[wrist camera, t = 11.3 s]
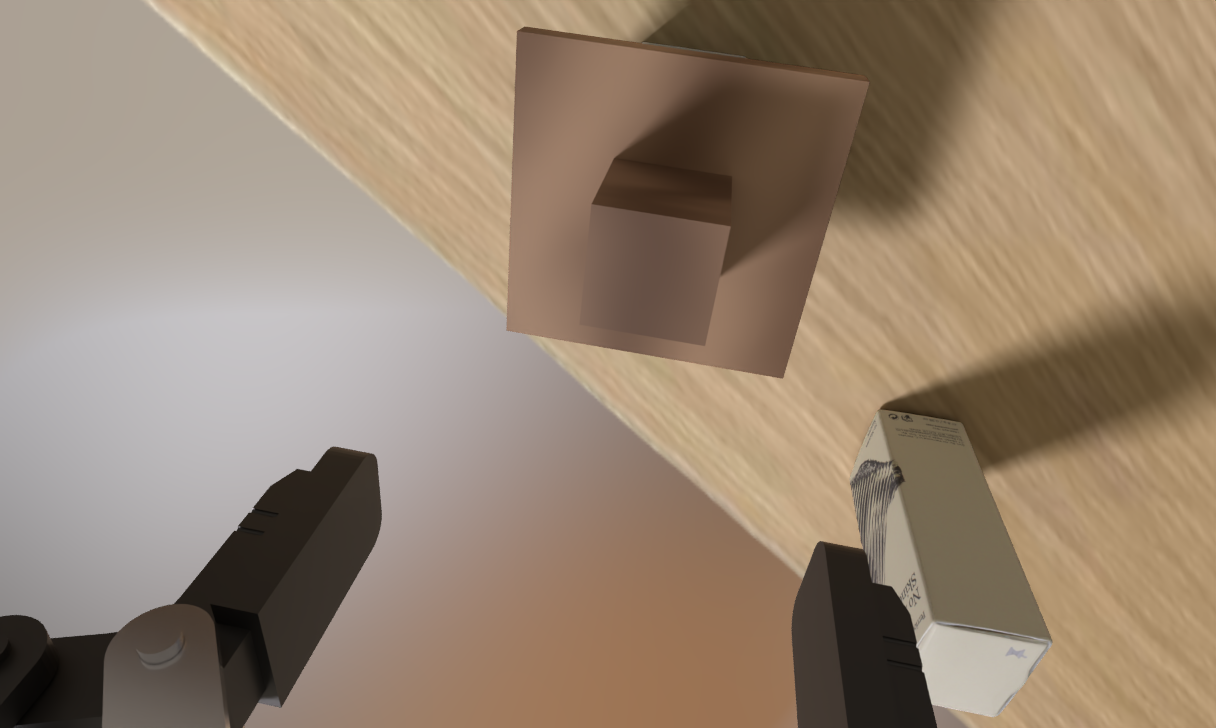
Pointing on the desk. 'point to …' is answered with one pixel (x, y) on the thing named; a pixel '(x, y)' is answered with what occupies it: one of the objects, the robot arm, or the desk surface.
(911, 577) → the box
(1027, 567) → the desk surface
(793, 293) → the lid
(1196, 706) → the desk surface
